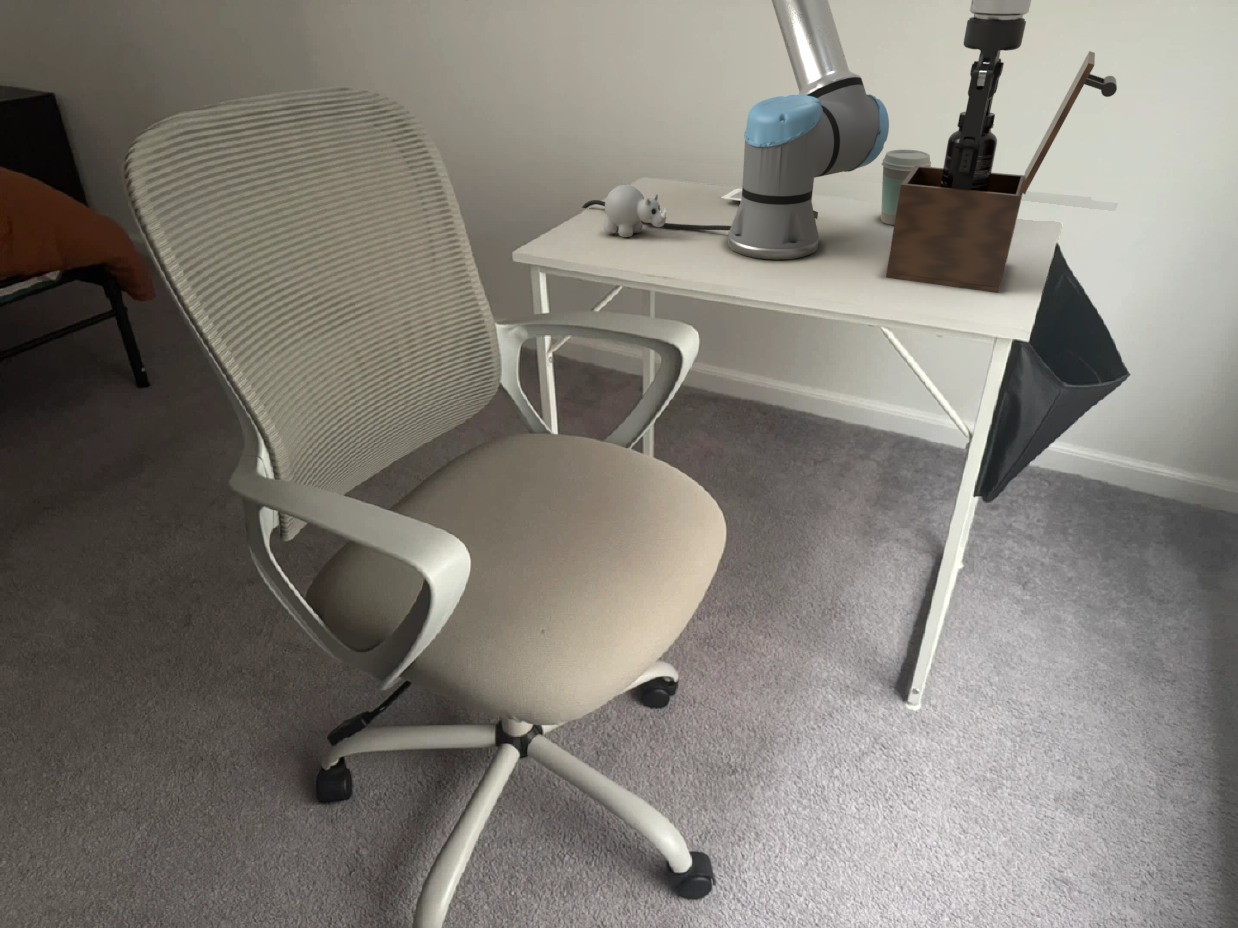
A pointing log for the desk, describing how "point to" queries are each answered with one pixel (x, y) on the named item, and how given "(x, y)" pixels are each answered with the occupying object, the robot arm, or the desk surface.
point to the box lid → (1082, 77)
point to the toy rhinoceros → (631, 211)
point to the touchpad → (734, 195)
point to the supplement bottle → (983, 160)
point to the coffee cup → (898, 178)
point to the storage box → (953, 230)
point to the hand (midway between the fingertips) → (963, 187)
